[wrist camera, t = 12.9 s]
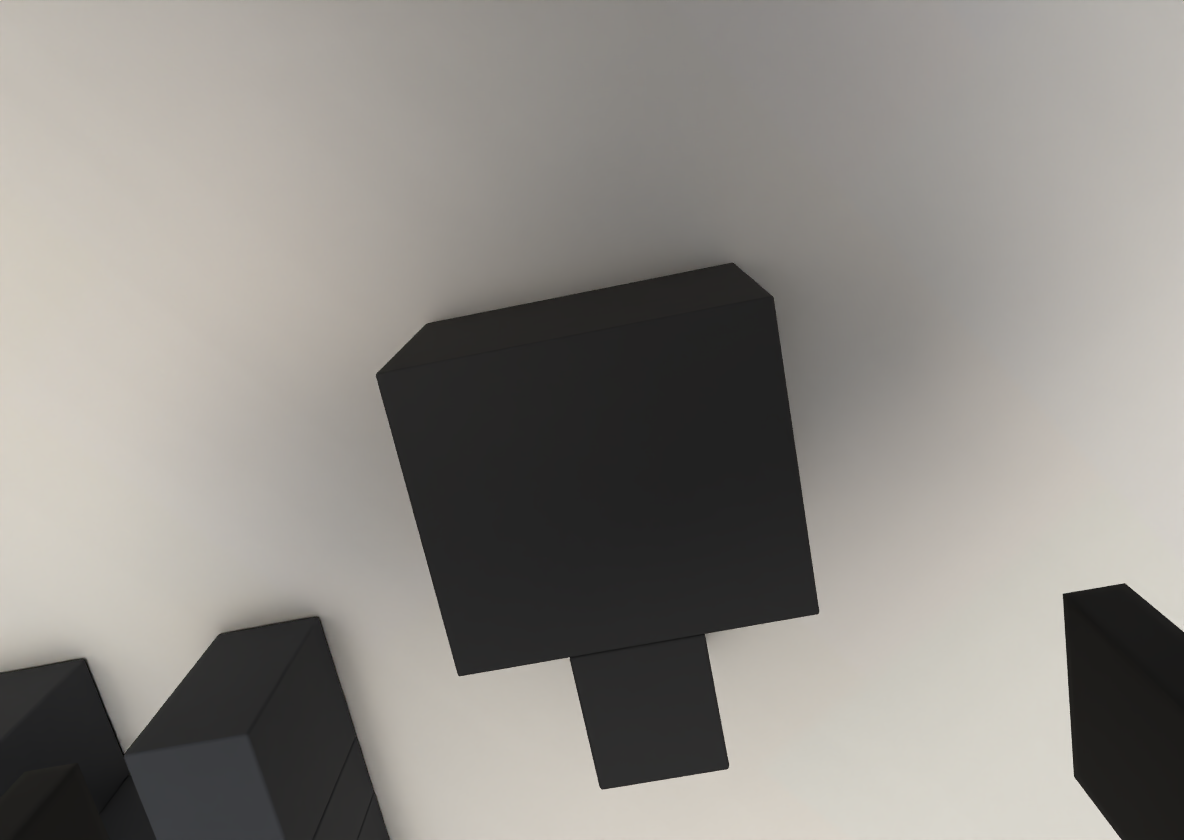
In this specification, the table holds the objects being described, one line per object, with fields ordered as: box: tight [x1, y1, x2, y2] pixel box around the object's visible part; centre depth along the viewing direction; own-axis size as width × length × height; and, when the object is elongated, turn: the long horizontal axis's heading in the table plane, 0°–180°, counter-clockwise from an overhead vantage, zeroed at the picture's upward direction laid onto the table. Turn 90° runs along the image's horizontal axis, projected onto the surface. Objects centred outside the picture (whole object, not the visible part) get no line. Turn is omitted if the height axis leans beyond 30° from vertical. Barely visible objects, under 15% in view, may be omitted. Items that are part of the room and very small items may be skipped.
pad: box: [376, 263, 819, 789], centre depth 22 cm, size 8×10×6 cm
